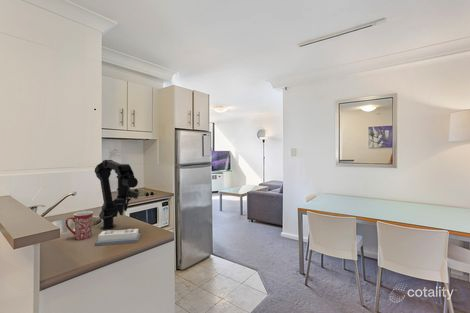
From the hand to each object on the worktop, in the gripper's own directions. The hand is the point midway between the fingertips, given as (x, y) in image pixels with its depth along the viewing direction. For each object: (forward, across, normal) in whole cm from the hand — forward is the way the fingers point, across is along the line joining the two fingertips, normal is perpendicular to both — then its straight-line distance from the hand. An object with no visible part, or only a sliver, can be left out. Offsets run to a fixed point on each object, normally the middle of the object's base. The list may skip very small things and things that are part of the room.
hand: (123, 213), depth 129 cm
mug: (+12, -1, +22) cm, 25 cm away
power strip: (+10, -10, 0) cm, 14 cm away
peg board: (+12, -10, 0) cm, 16 cm away
